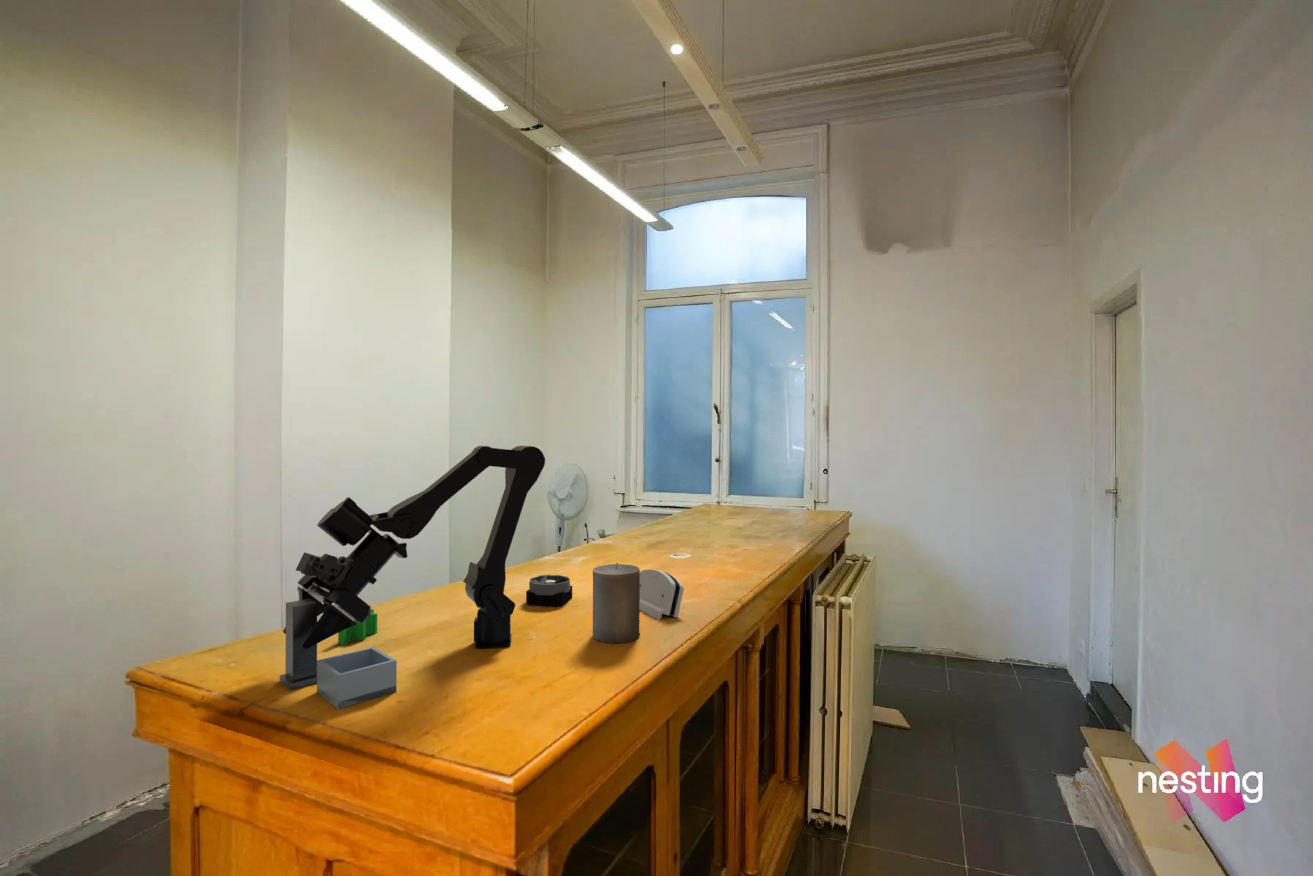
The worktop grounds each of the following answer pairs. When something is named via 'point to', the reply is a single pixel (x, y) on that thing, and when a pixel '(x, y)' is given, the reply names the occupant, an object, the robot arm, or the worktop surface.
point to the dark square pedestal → (300, 645)
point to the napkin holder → (659, 593)
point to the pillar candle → (616, 603)
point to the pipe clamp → (359, 630)
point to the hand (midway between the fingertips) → (294, 640)
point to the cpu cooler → (549, 591)
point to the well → (356, 677)
